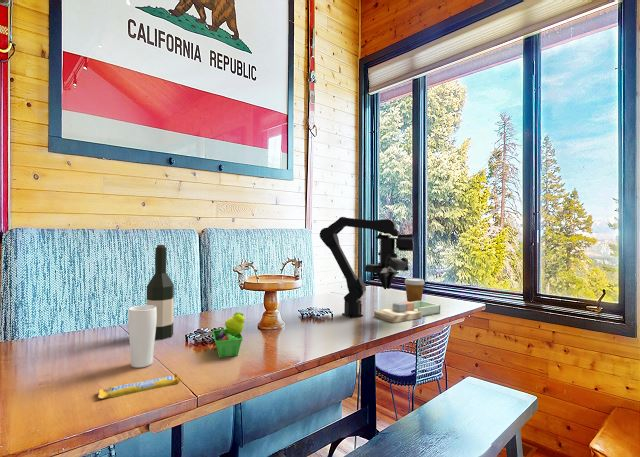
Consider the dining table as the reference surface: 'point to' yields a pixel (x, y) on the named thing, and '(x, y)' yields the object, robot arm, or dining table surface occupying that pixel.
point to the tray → (426, 307)
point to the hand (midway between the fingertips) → (386, 289)
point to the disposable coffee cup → (414, 289)
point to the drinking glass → (142, 334)
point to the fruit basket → (230, 336)
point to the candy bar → (138, 386)
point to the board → (397, 315)
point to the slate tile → (399, 307)
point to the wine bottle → (161, 295)
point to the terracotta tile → (409, 305)
